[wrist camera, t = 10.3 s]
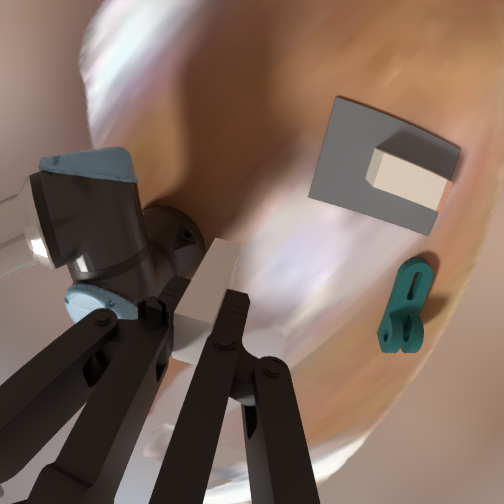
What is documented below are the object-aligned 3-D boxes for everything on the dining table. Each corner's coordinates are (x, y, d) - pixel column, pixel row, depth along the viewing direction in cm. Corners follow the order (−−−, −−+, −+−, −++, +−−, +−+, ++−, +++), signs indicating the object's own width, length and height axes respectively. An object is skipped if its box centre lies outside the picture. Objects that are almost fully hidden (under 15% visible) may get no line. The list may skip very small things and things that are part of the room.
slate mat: (308, 196, 44) (308, 197, 43) (335, 97, 36) (335, 97, 35) (427, 235, 43) (428, 236, 42) (459, 149, 35) (460, 149, 35)
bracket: (405, 332, 53) (414, 359, 46) (376, 332, 54) (383, 360, 47) (433, 258, 45) (449, 282, 38) (401, 255, 46) (415, 279, 39)
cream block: (372, 186, 36) (441, 213, 35) (383, 152, 33) (453, 182, 33) (365, 178, 40) (429, 202, 40) (374, 147, 38) (439, 174, 37)
